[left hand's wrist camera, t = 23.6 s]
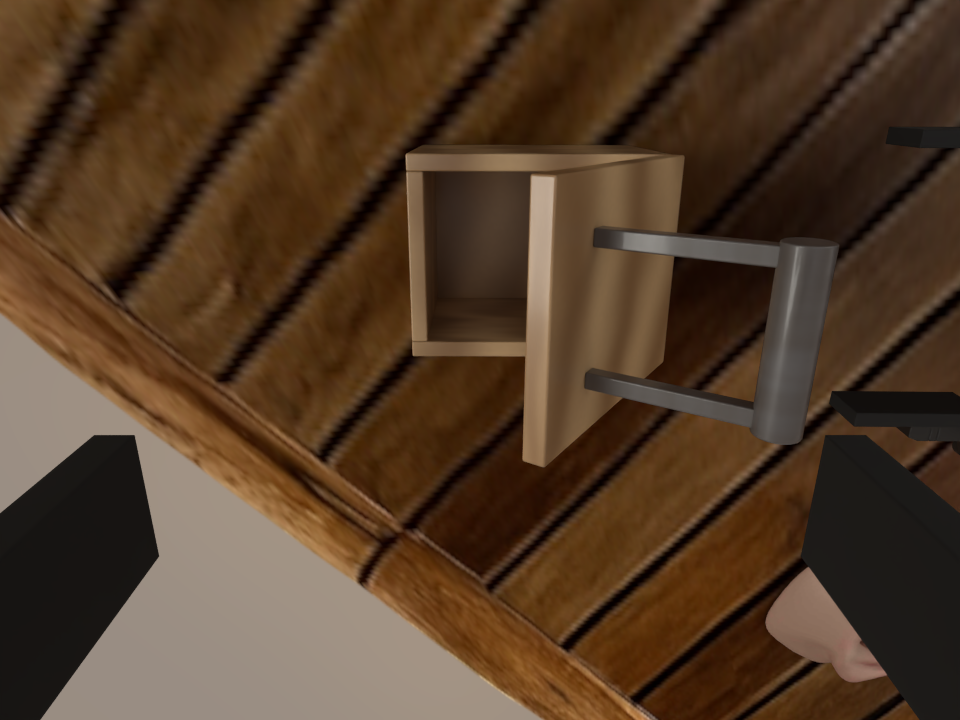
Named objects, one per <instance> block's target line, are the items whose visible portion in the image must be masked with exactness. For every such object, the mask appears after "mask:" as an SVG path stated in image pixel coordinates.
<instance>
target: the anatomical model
mask: <svg viewBox="0 0 960 720" xmlns="http://www.w3.org/2000/svg"><path fill="white" fill-rule="evenodd" d="M766 628H767V630H768V631H769V632H770V634H771V635H772V636H773V637H774V638H775V639H777V640H778V641H779V642H781V643H782V644H783V645H785V646H786V647H788V648H789V649H791V650H792V651H794V652H795V653H797V654H799V655H801V656H803V657H806V658H808V659H810V660H812V661H816V662H821V663H832V665H833V666H834V668H835V670H836V671H837V673H838V674H839V676H840V677H842V678H843V679H844V680H846V681H849V682H860V681H865V680H869V679H873V678H877V677H882V676H886V675H887V674H886V673H885V671H884V670H883V669H882V667H881V666H880V664H879V663H878V662H877V660H876V659H875V658H874V656H873V655H872V653H871V652H870V651H869V649H868V648H867V647H866V645H865V644H864V642H863V641H862V640H861V638H860V637H859V636H858V634H857V633H856V631H855V630H854V629H853V627H852V626H851V625H850V623H849V622H848V620H847V619H846V618H845V616H844V615H843V614H842V612H841V611H840V609H839V608H838V607H837V605H836V604H835V603H834V601H833V600H832V598H831V597H830V596H829V594H828V593H827V591H826V590H825V589H824V587H823V586H822V585H821V583H820V582H819V580H818V579H817V578H816V576H815V575H814V574H813V572H812V571H811V569H810V568H809V567H807V568H806V569H805V570H803V571H802V572H801V573H800V574H799V575H798V576H797V577H796V578H794V579H793V580H792V581H791V582H790V584H789V585H788V586H787V587H786V588H785V589H784V591H783V592H782V593H781V594H780V596H779V597H778V598H777V600H776V601H775V602H774V604H773V606H772V607H771V609H770V610H769V612H768V614H767V617H766Z"/></svg>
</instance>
